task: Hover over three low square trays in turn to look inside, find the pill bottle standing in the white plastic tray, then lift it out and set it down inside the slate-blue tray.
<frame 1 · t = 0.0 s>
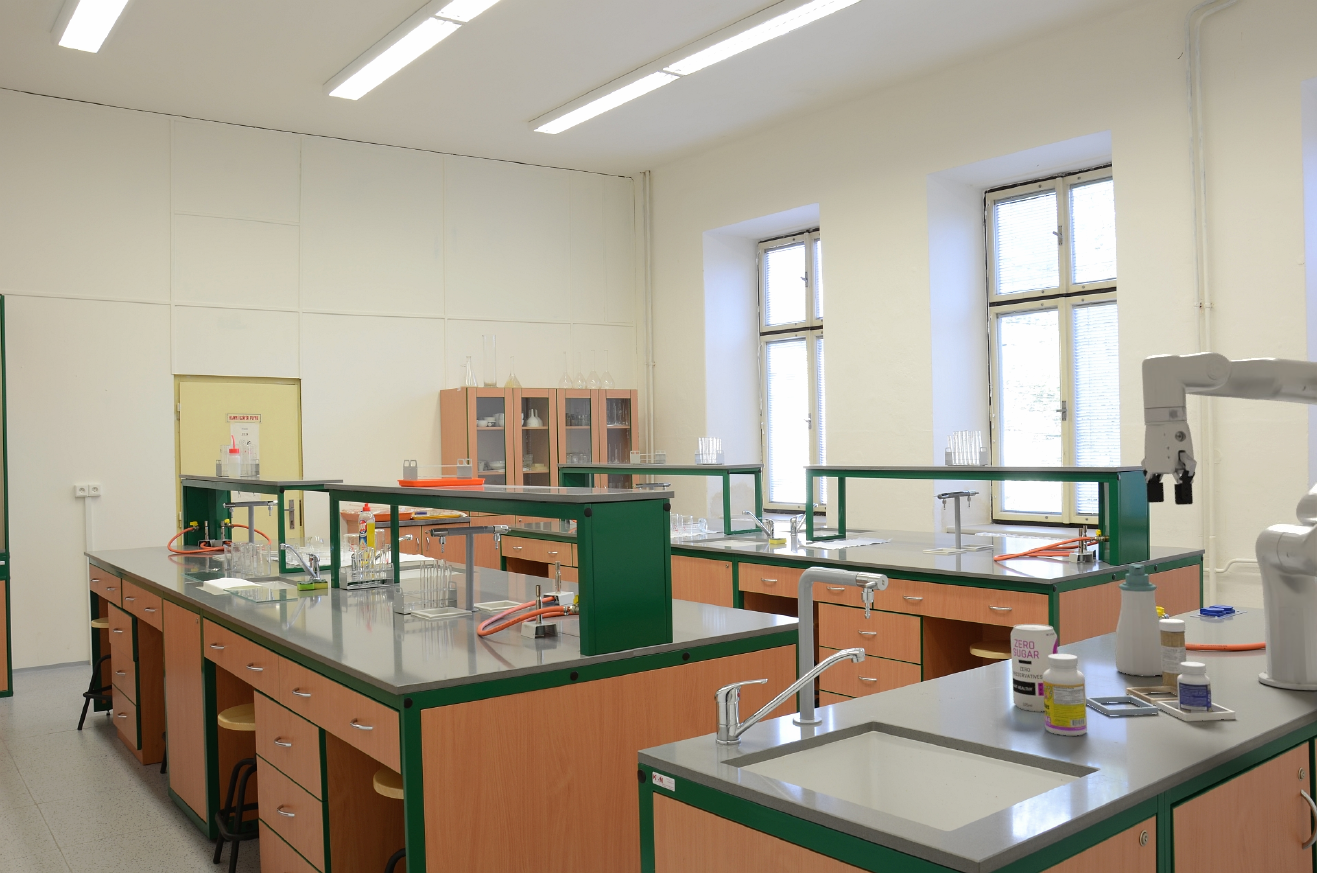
hand: (1169, 503, 190), 37 cm above the lab bench, tool pointing down, fingers open, 9 cm apart
supplement can: (1036, 708, 180), on the lab bench
tray white: (1195, 713, 172), on the lab bench
soap bottle: (1141, 673, 204), on the lab bench
tray slate: (1120, 709, 177), on the lab bench
sprinkles bottle: (1175, 689, 190), on the lab bench
pill bottle: (1195, 714, 172), resting in tray white
tray birch: (1162, 699, 183), on the lab bench
supplement bottle: (1066, 732, 164), on the lab bench
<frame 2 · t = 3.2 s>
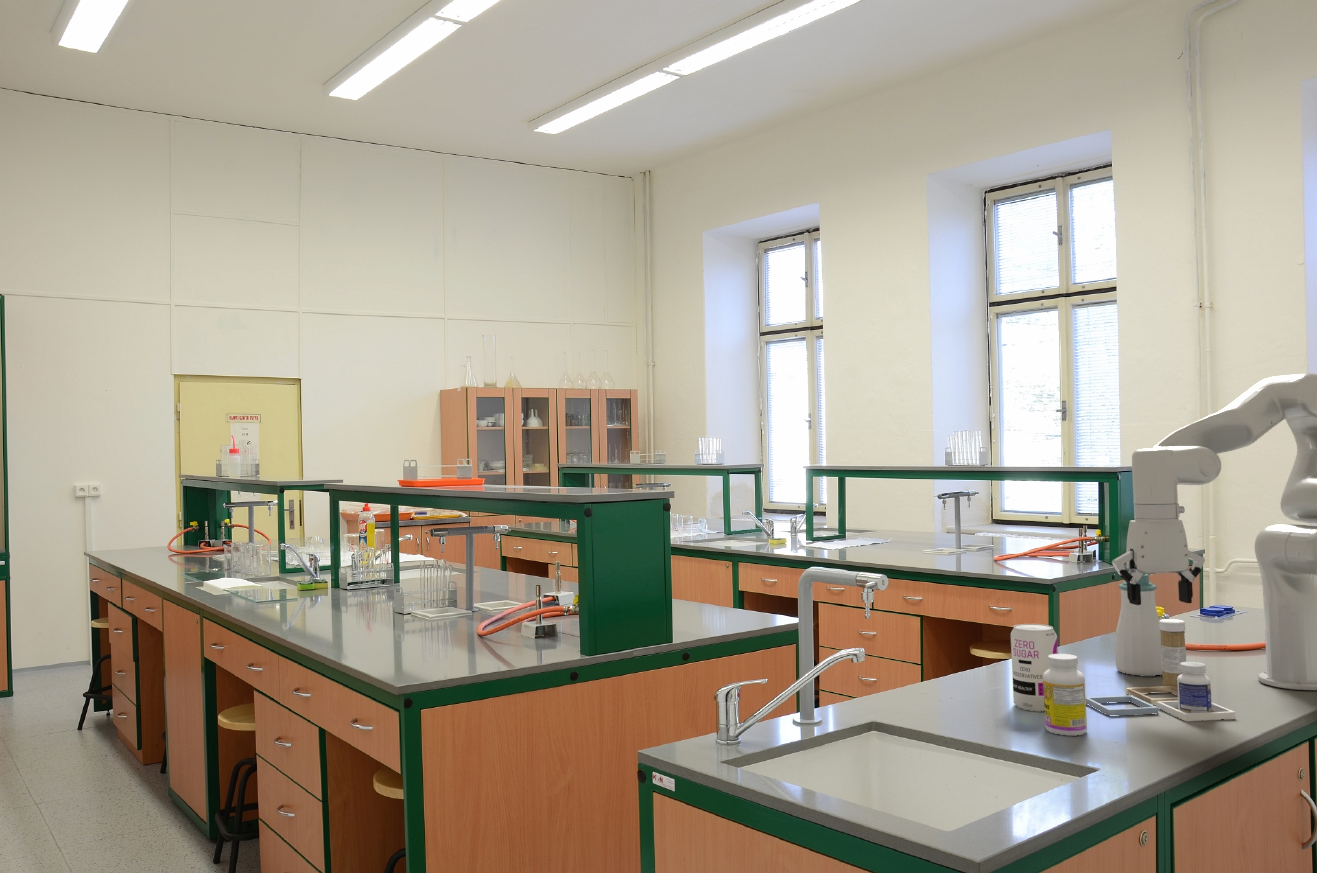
hand: (1160, 603, 182), 18 cm above the lab bench, tool pointing down, fingers open, 9 cm apart
nothing on the lab bench moved.
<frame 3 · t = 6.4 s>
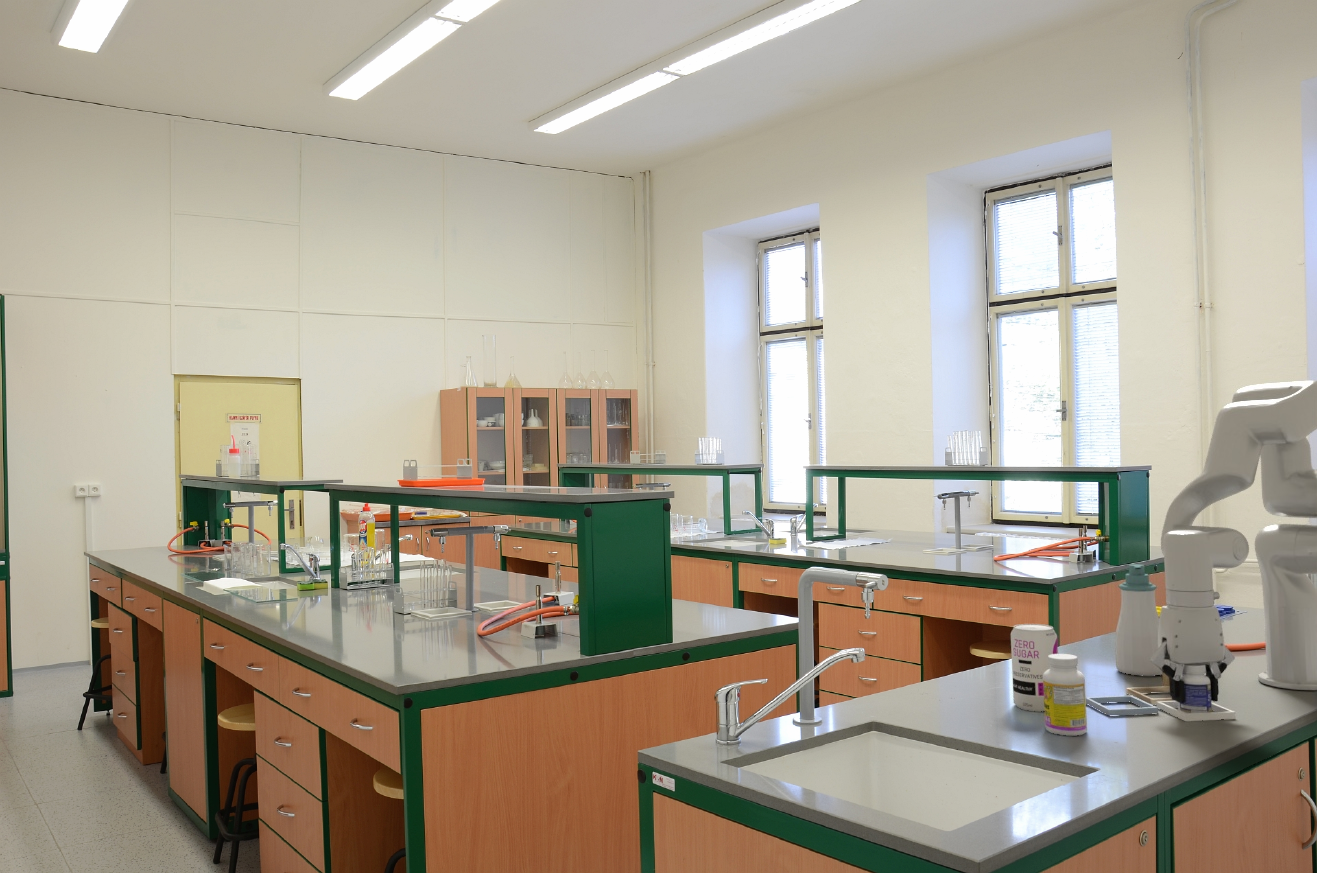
hand: (1194, 699, 172), 2 cm above the lab bench, tool pointing down, fingers closed on pill bottle, 5 cm apart
pill bottle: (1195, 714, 172), resting in tray white, touching gripper
everything else where it was.
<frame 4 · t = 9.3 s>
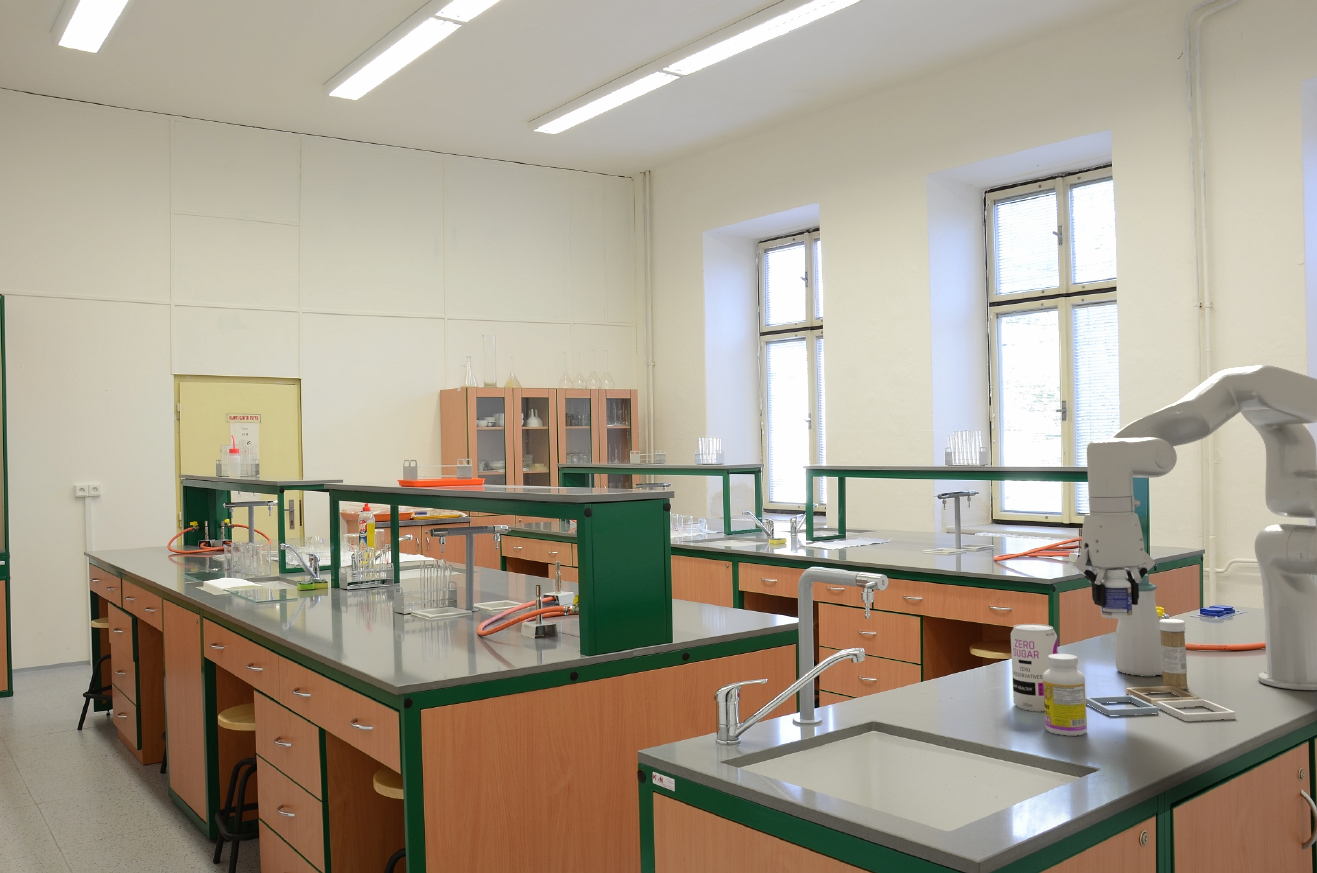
hand: (1115, 603, 177), 19 cm above the lab bench, tool pointing down, fingers closed on pill bottle, 5 cm apart
pill bottle: (1116, 618, 177), point 17 cm above the lab bench, touching gripper
everything else where it was.
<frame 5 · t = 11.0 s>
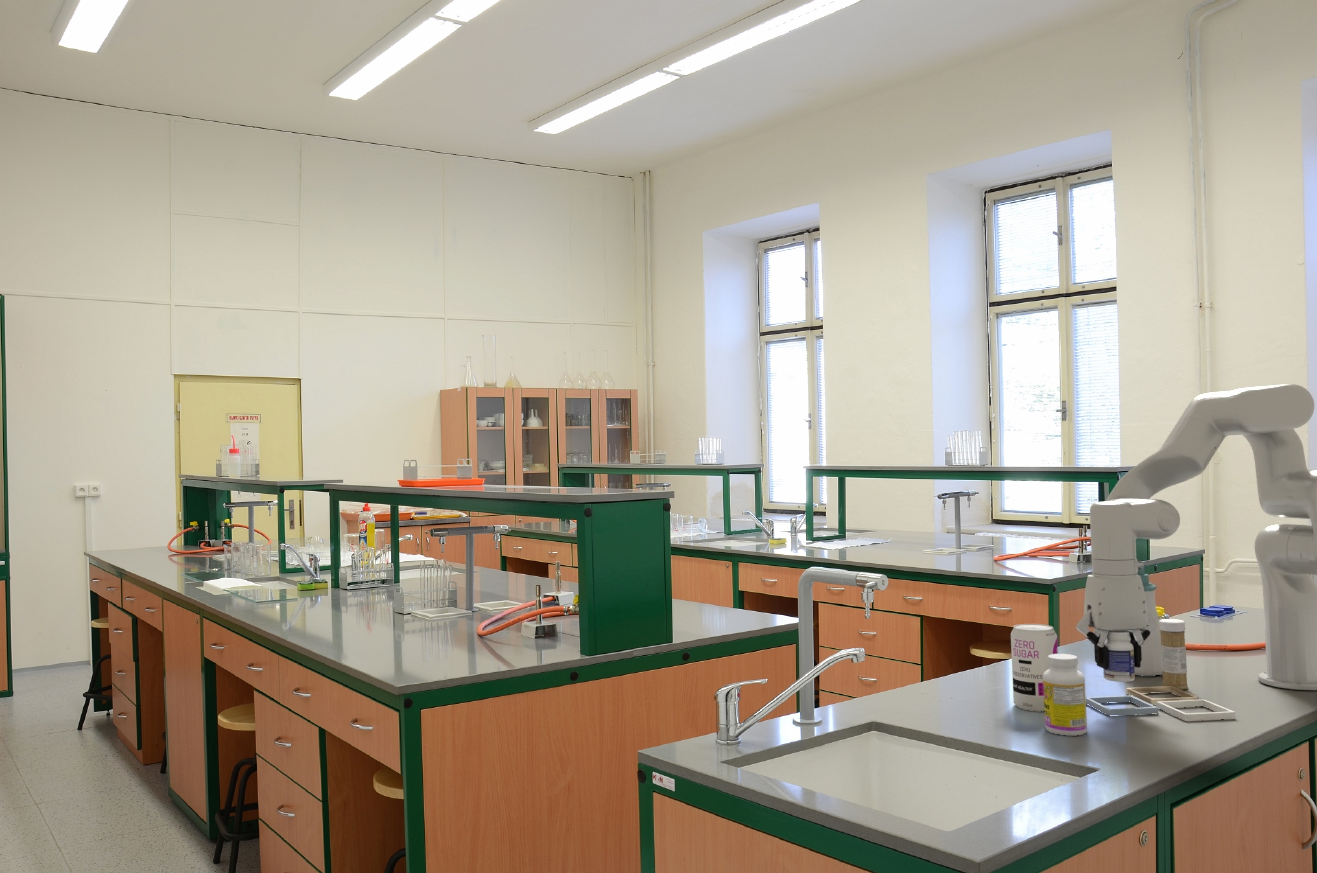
hand: (1118, 665, 177), 8 cm above the lab bench, tool pointing down, fingers closed on pill bottle, 5 cm apart
pill bottle: (1119, 680, 177), point 5 cm above the lab bench, touching gripper
everything else where it was.
when the fingers open (3 cm above the lab bench, at t = 12.4 s): pill bottle stays where it is, resting in tray slate.
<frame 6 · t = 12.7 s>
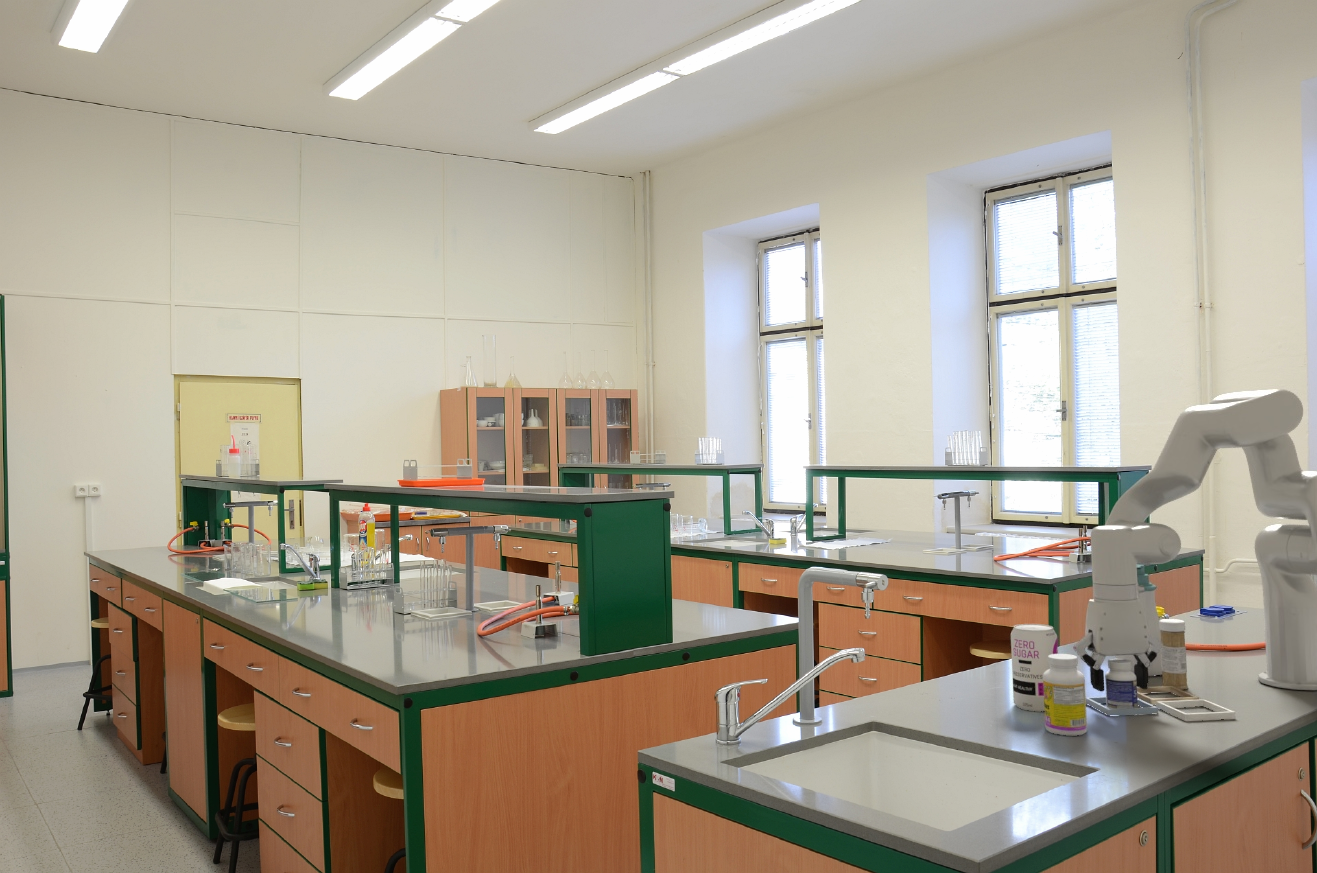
hand: (1119, 688, 177), 4 cm above the lab bench, tool pointing down, fingers open, 7 cm apart
pill bottle: (1122, 710, 177), resting in tray slate
everything else where it was.
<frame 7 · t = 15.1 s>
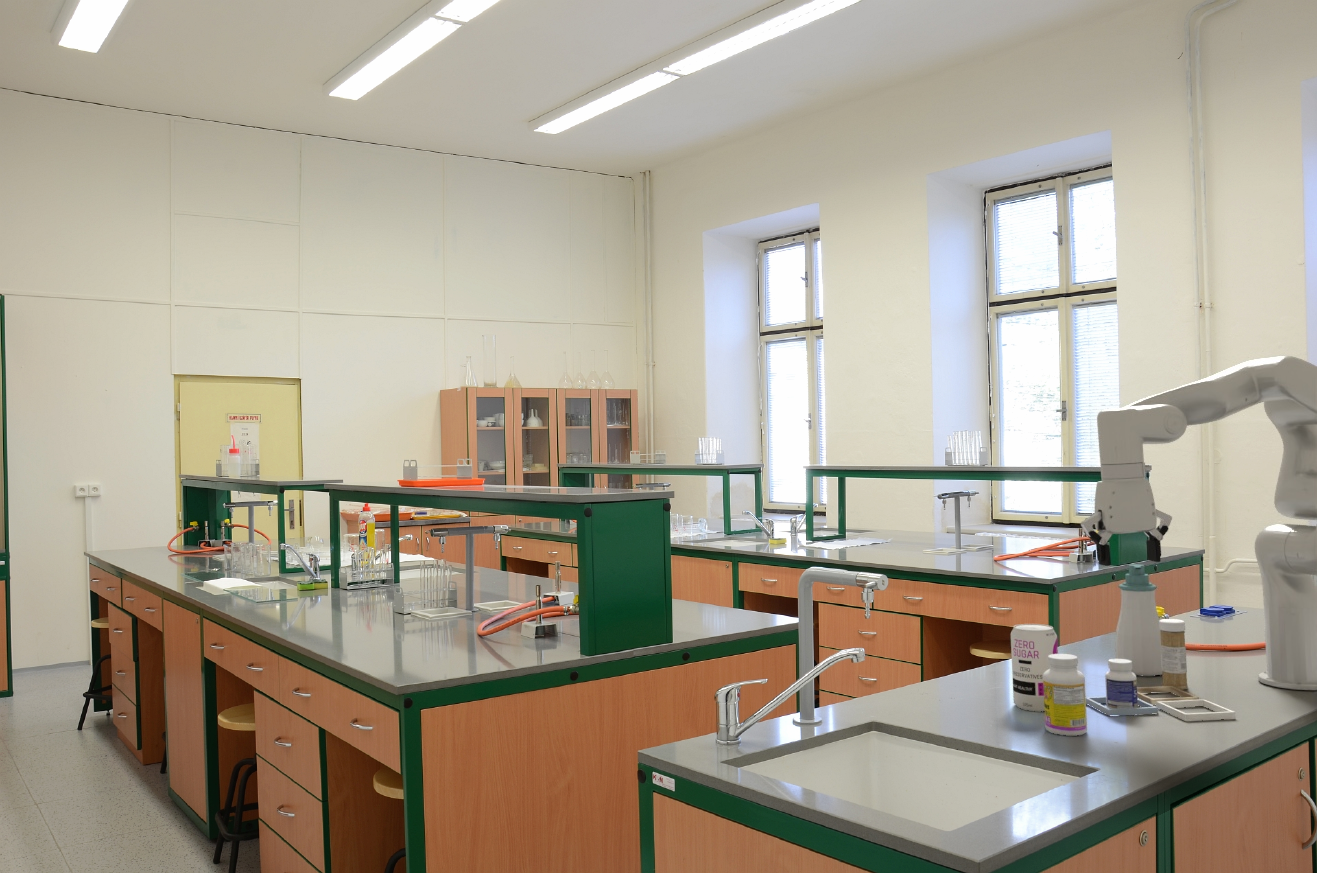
hand: (1129, 563, 182), 26 cm above the lab bench, tool pointing down, fingers open, 9 cm apart
nothing on the lab bench moved.
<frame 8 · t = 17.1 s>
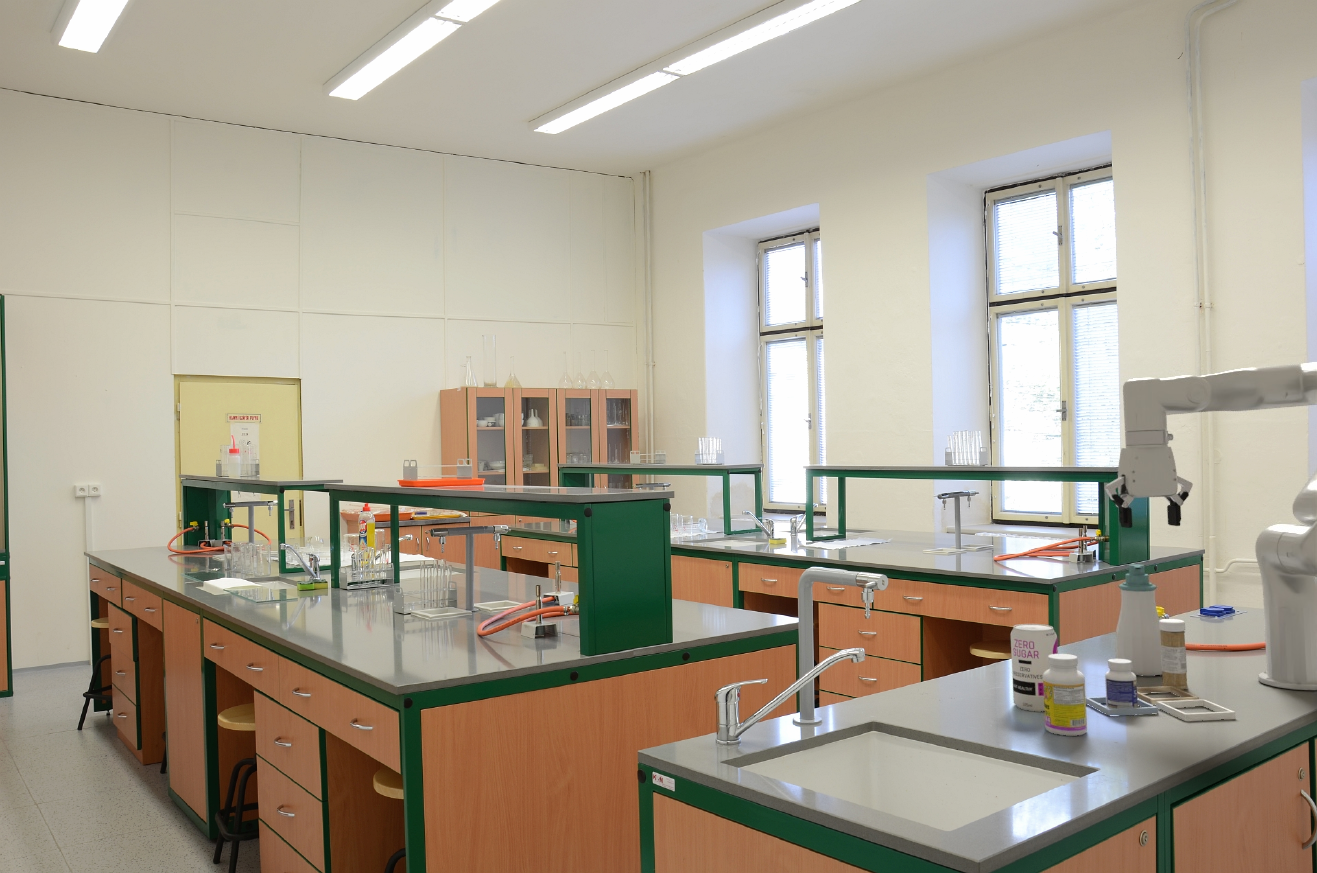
hand: (1150, 526, 190), 32 cm above the lab bench, tool pointing down, fingers open, 9 cm apart
nothing on the lab bench moved.
at the end: pill bottle 0.3 cm off-centre on the tray slate, point 0.0 cm above the tray slate's base; pill bottle tilted 0°; the gripper is holding nothing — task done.
